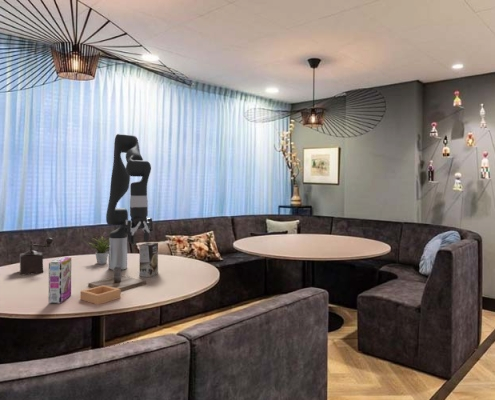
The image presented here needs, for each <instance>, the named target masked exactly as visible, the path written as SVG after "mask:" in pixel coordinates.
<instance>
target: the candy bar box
mask: <svg viewBox="0 0 495 400" xmlns="http://www.w3.org/2000/svg"><path fill="white" fill-rule="evenodd" d="M71 296H72V257H69V256H68V257H64V256H63V257H58V258H56V259H54V260H52V261H50V262H48V304H51V305H53V304H54V305H55V304H56V305H57V304H58V305H59V304H62V303H63V302H64V301H66V300H67V299H69V298H70V297H71Z"/></svg>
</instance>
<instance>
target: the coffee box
mask: <svg viewBox="0 0 495 400" xmlns="http://www.w3.org/2000/svg"><path fill="white" fill-rule="evenodd" d="M138 273H139V277H147V278H151V277H153V276H156V275H157V274H158V273H159V242H145V243H142V244H139V272H138Z"/></svg>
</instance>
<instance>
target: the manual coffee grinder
mask: <svg viewBox="0 0 495 400" xmlns="http://www.w3.org/2000/svg"><path fill="white" fill-rule="evenodd" d="M45 242H46V244H45V245H44V244H34V243H33V240H29V250H28V251H25V252H24V253H23V252H22V253H19V274H26V275H32V274H31V273H34V274H41V272H42V273H43V272H44V257H43V256H44V255H43V252H42V251H41V252H40V251H36V250H33V246H34V247H43V248H51V247H52V244H53V242H54V239H53V238H52V237H47V238H46V239H45Z"/></svg>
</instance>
